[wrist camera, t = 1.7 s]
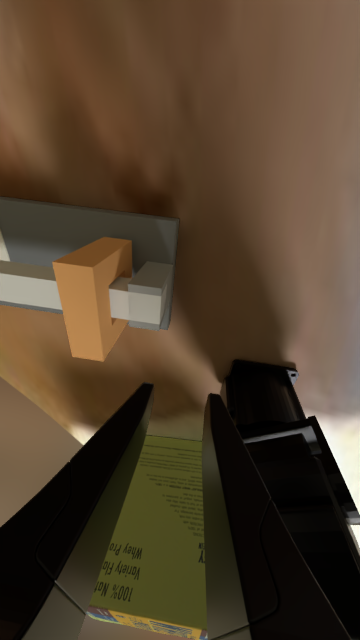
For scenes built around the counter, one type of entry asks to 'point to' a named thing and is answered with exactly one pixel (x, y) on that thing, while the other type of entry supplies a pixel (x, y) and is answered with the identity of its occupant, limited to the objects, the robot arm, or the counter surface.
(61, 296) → the collar
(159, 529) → the protein box
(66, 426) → the counter surface
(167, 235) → the pipe rig
